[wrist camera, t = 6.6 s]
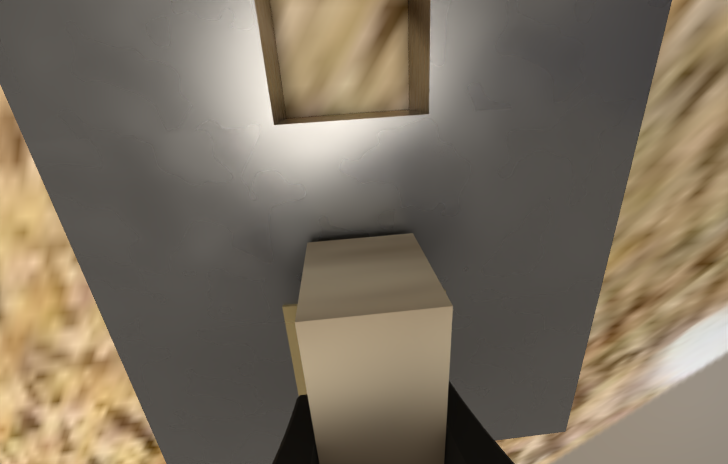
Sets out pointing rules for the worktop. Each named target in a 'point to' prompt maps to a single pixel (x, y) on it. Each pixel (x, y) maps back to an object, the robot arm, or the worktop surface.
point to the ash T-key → (375, 351)
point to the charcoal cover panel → (331, 192)
